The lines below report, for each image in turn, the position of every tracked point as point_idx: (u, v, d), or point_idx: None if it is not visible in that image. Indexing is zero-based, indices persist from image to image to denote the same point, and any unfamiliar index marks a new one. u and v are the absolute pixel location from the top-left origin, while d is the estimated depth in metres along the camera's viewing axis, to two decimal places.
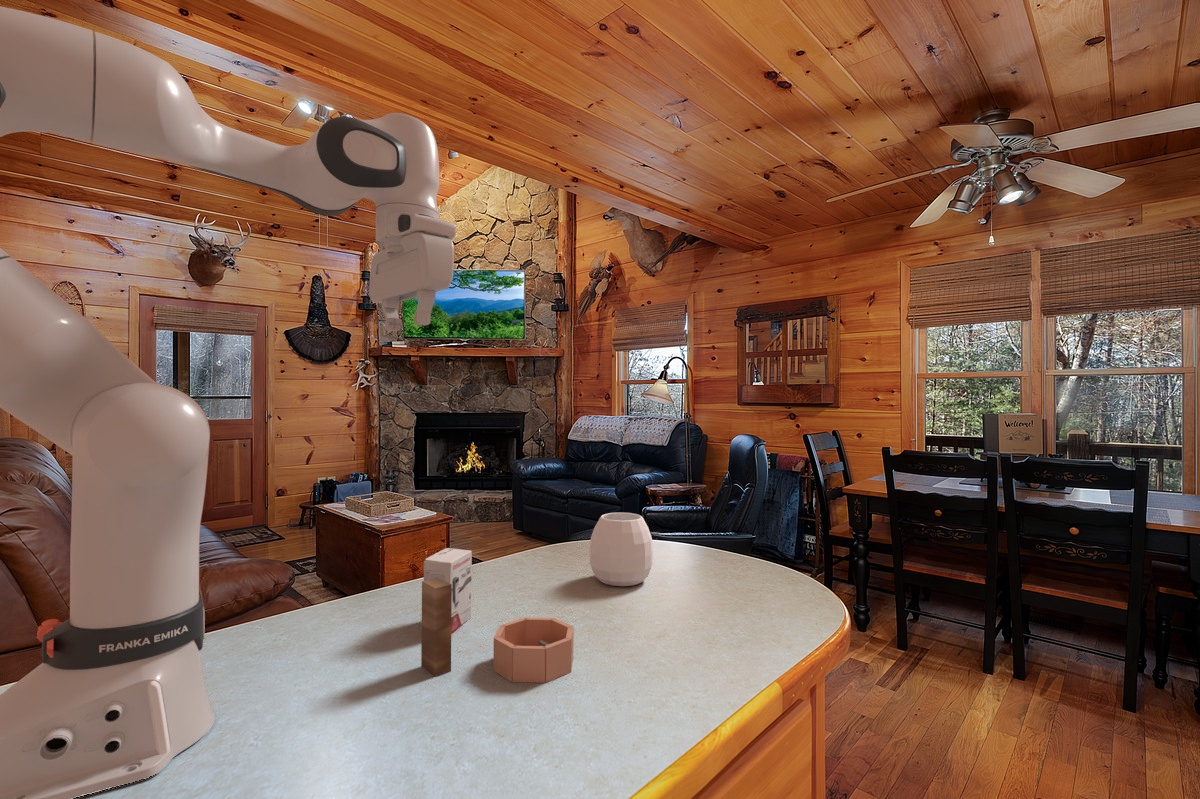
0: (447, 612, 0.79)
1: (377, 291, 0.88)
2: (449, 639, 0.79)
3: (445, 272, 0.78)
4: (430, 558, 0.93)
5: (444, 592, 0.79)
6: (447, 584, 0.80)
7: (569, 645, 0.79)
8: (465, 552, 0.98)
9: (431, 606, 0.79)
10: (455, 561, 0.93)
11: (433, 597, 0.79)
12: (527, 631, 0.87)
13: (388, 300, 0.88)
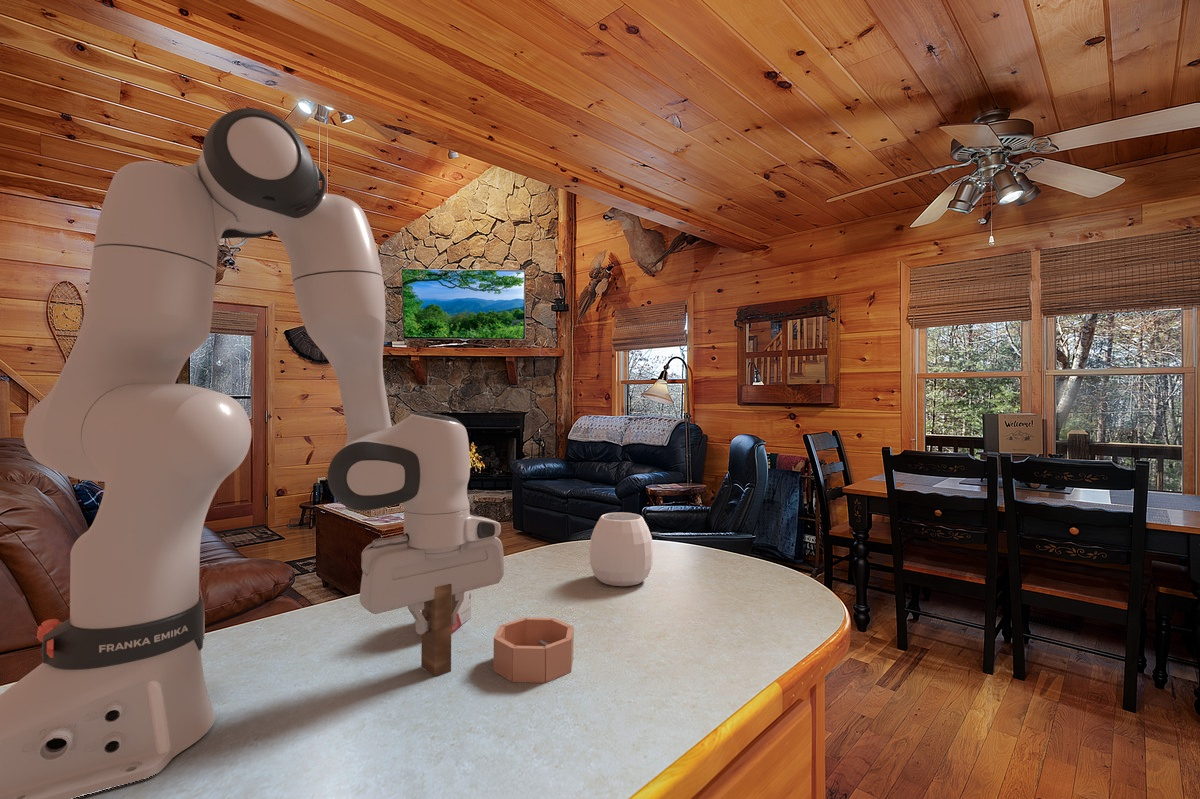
0: (447, 612, 0.79)
1: (397, 600, 0.74)
2: (449, 639, 0.79)
3: None
4: None
5: (444, 592, 0.79)
6: None
7: (569, 645, 0.79)
8: None
9: (431, 606, 0.79)
10: None
11: None
12: (527, 631, 0.87)
13: None
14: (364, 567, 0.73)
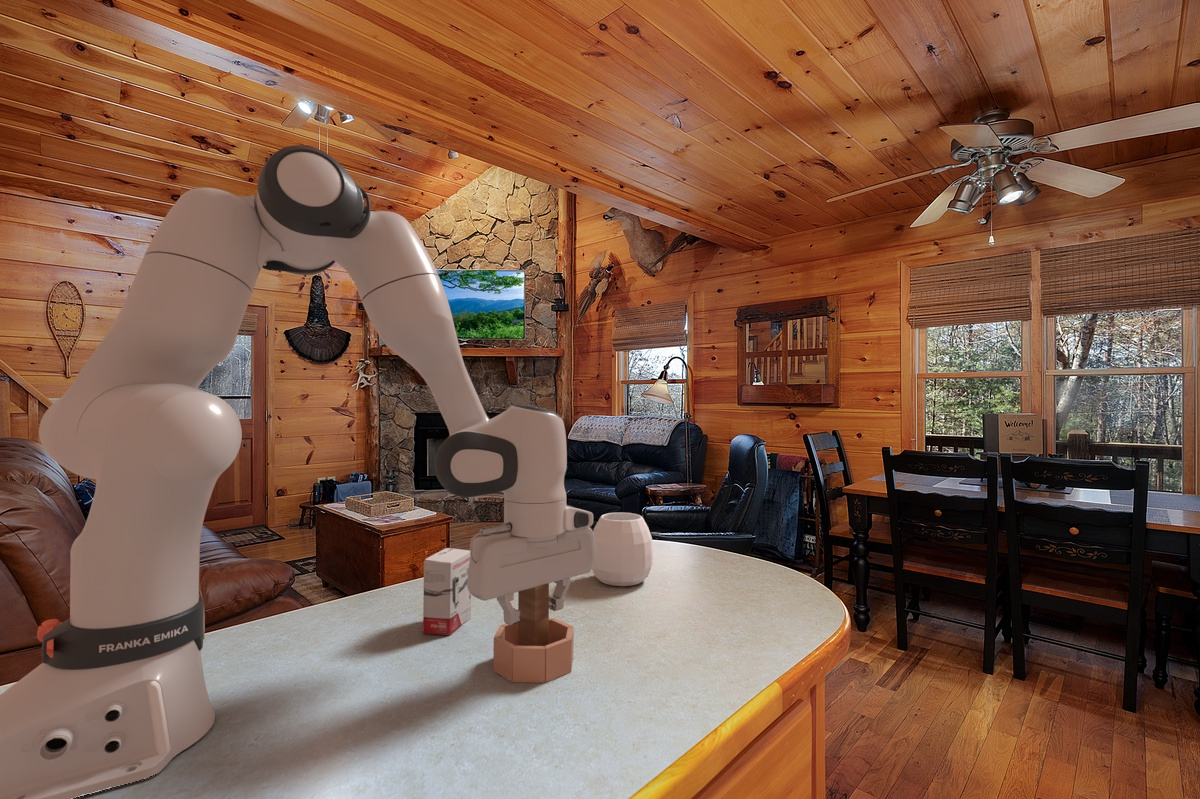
0: (545, 603, 0.81)
1: (503, 587, 0.76)
2: (547, 629, 0.81)
3: None
4: (430, 558, 0.93)
5: None
6: None
7: (569, 645, 0.79)
8: (465, 552, 0.98)
9: (530, 596, 0.81)
10: (455, 561, 0.93)
11: (532, 588, 0.81)
12: None
13: None
14: (473, 555, 0.75)
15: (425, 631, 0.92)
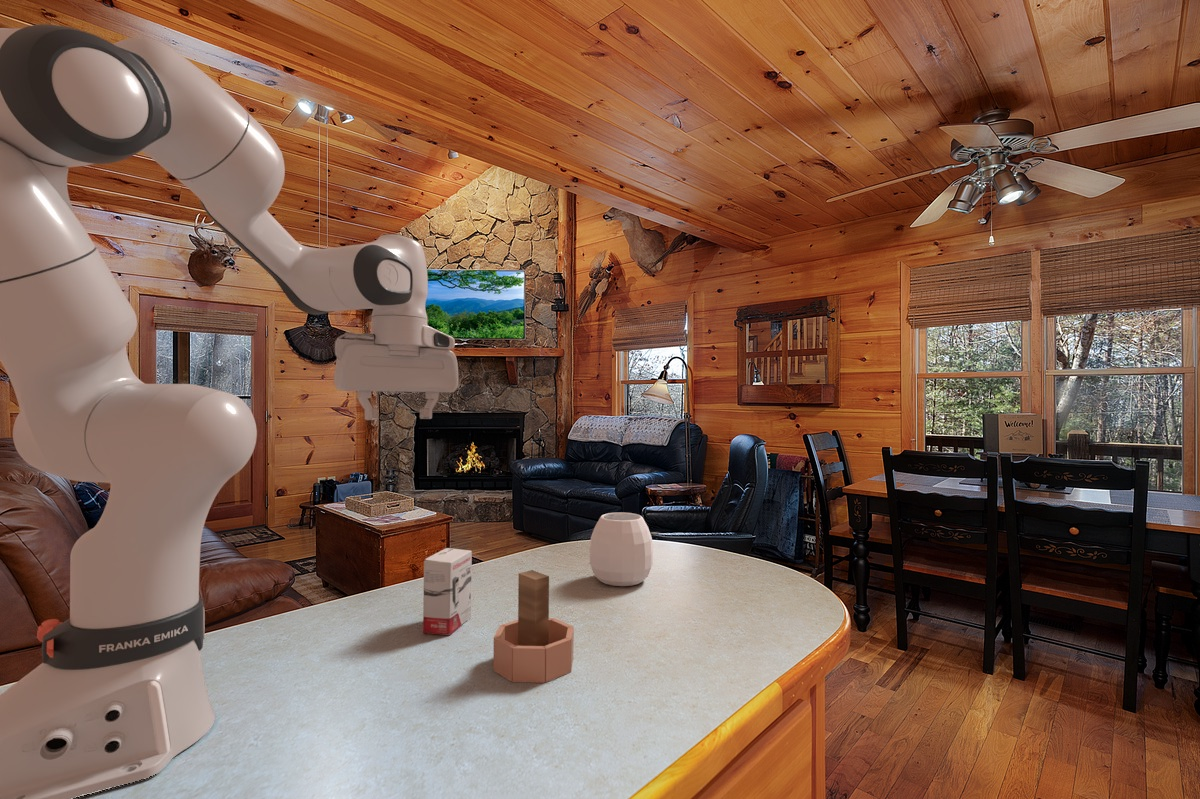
0: (545, 603, 0.81)
1: (364, 382, 0.90)
2: (547, 630, 0.81)
3: None
4: (430, 558, 0.93)
5: (542, 584, 0.81)
6: (545, 576, 0.82)
7: (569, 645, 0.79)
8: (465, 552, 0.98)
9: (530, 597, 0.81)
10: (455, 561, 0.93)
11: (532, 589, 0.80)
12: None
13: None
14: (337, 352, 0.89)
15: (425, 631, 0.92)
